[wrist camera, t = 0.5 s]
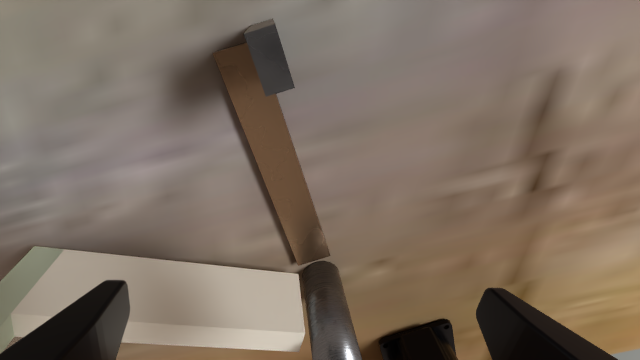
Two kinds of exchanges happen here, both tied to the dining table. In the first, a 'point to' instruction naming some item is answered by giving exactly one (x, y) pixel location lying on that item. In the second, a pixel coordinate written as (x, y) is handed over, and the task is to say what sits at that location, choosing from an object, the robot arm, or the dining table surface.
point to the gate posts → (287, 182)
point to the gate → (159, 299)
